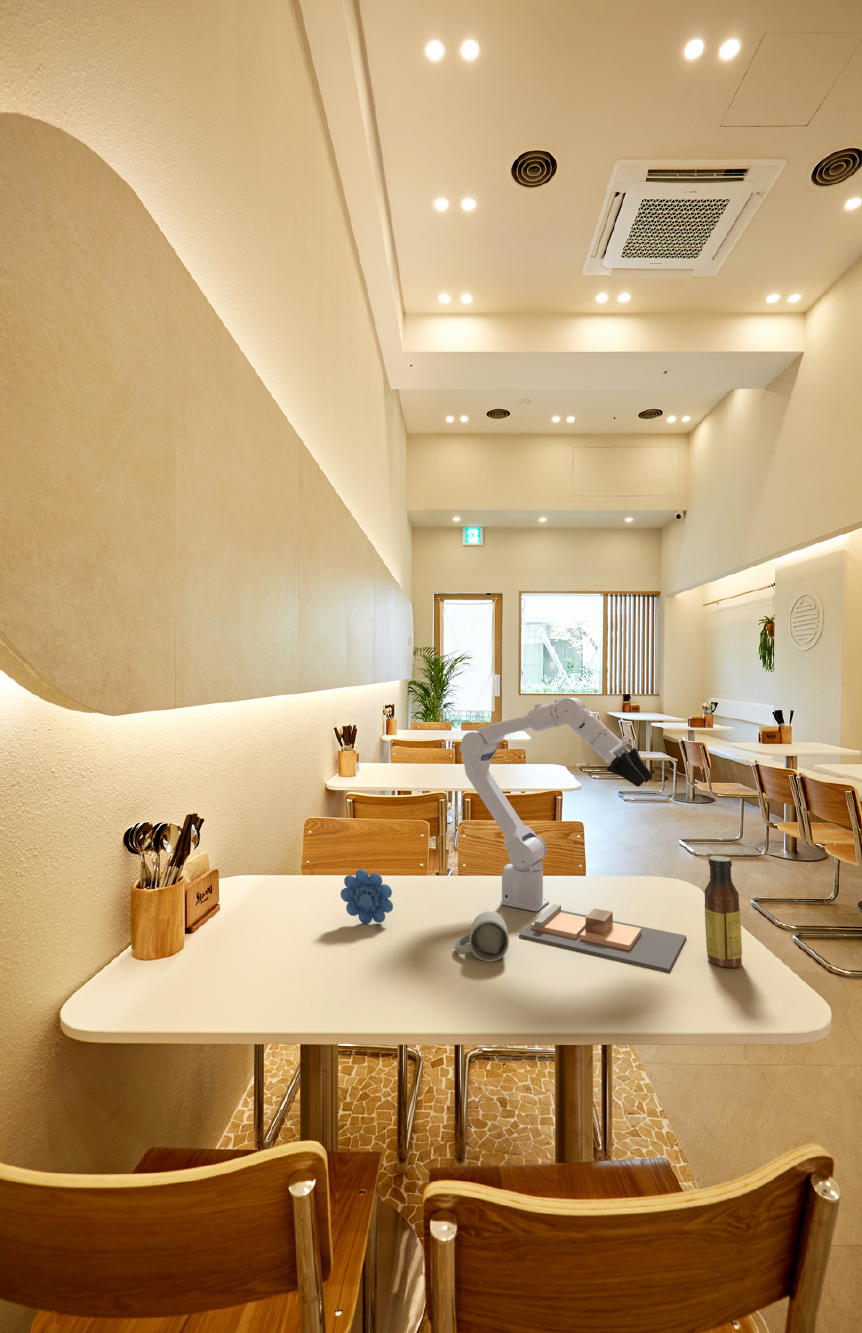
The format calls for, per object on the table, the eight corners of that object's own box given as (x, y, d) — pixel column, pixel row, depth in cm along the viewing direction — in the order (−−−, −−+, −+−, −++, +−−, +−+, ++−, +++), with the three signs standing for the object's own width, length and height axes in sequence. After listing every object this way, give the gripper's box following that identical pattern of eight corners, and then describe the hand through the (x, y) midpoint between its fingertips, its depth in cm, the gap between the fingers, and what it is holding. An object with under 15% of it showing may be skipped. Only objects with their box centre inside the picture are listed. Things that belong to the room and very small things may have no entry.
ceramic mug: (507, 944, 128) (506, 906, 128) (509, 962, 120) (508, 922, 120) (455, 944, 129) (454, 906, 129) (453, 962, 121) (453, 921, 121)
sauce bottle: (739, 957, 123) (739, 855, 123) (744, 971, 117) (743, 864, 117) (703, 953, 125) (702, 852, 125) (706, 966, 119) (705, 860, 119)
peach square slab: (580, 939, 129) (580, 919, 129) (594, 923, 138) (594, 905, 138) (629, 950, 124) (629, 930, 124) (641, 933, 133) (641, 914, 133)
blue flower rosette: (337, 931, 134) (338, 875, 135) (341, 919, 141) (342, 865, 142) (392, 931, 135) (392, 875, 135) (393, 919, 141) (393, 865, 142)
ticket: (529, 930, 134) (529, 920, 134) (549, 912, 144) (549, 903, 144) (574, 940, 129) (574, 929, 129) (592, 921, 139) (592, 911, 139)
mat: (519, 937, 132) (519, 934, 132) (549, 910, 147) (549, 907, 147) (669, 972, 116) (669, 969, 116) (686, 938, 132) (686, 935, 132)
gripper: (602, 726, 136) (651, 772, 130) (619, 723, 148) (664, 765, 143) (581, 749, 138) (628, 795, 132) (599, 745, 150) (643, 786, 145)
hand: (645, 781), depth 138 cm, fingers open, 7 cm apart
